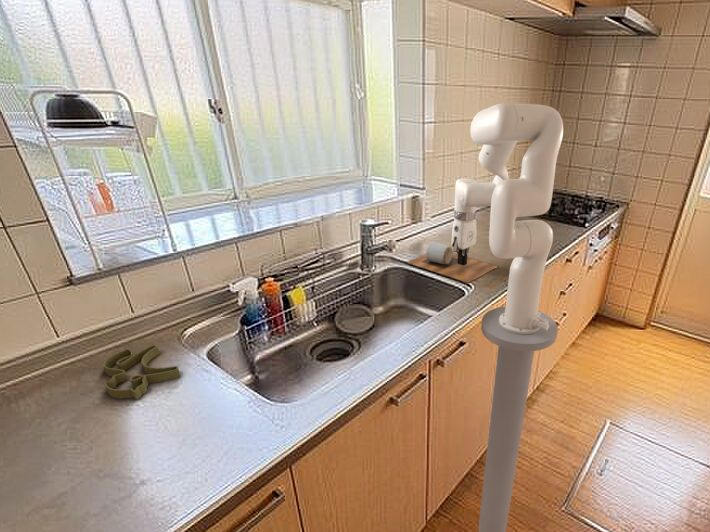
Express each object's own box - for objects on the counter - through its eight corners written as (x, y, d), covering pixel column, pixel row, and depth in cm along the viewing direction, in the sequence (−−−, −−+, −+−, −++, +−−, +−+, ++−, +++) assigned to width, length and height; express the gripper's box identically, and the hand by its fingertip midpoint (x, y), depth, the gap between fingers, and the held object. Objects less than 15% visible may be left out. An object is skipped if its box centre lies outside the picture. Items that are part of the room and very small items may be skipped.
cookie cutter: (185, 379, 90) (183, 372, 89) (118, 407, 81) (114, 398, 80) (155, 347, 100) (153, 340, 99) (91, 369, 91) (88, 361, 90)
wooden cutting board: (497, 266, 159) (497, 266, 159) (468, 283, 144) (468, 282, 143) (438, 249, 172) (438, 249, 172) (406, 262, 157) (406, 262, 157)
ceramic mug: (444, 267, 154) (445, 247, 150) (425, 263, 157) (425, 243, 153) (457, 259, 163) (458, 240, 159) (438, 255, 165) (439, 236, 162)
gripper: (461, 221, 139) (459, 272, 148) (484, 213, 151) (481, 261, 159) (443, 217, 143) (442, 267, 151) (467, 209, 154) (464, 256, 162)
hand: (462, 264), depth 155 cm, fingers closed
